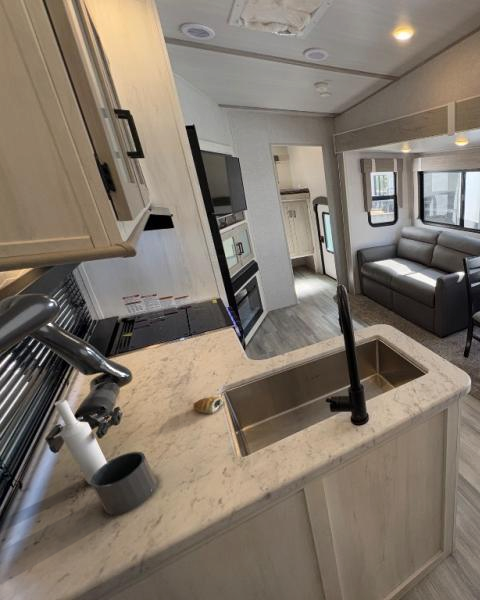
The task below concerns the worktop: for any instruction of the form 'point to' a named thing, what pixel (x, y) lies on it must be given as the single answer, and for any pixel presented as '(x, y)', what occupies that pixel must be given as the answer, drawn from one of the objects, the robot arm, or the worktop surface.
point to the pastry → (208, 404)
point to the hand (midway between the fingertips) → (77, 442)
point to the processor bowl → (124, 483)
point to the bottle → (80, 442)
